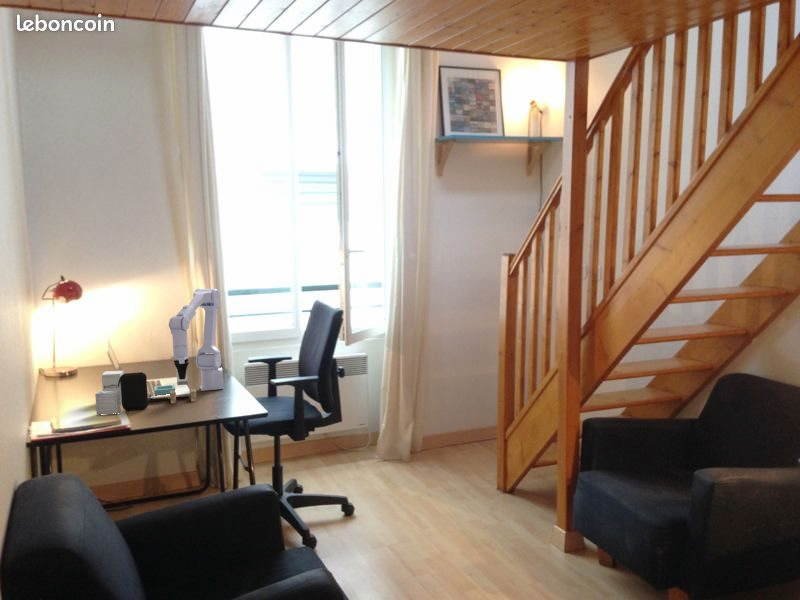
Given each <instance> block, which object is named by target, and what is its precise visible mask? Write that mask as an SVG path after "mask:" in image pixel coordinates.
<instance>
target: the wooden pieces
mask: <svg viewBox="0 0 800 600" xmlns="http://www.w3.org/2000/svg"><path fill="white" fill-rule="evenodd" d="M175 390H176V389H175ZM175 390H173V391H170V397H171V398H170V404H177V398H176V392H175ZM189 390H190V402H197V401H198V400H197V390H196V388H190V389H189Z"/></svg>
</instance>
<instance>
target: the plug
mask: <svg viewBox="0 0 800 600" xmlns="http://www.w3.org/2000/svg"><path fill="white" fill-rule="evenodd" d="M175 368H176V367H175ZM188 381H189V380H188V369H187V370H186V377H185V379H181V380H180V379H179V375H178V371H177V368H176V384H177V386H185V385H188V386H189V384H188V383H189V382H188Z"/></svg>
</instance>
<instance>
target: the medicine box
mask: <svg viewBox="0 0 800 600" xmlns="http://www.w3.org/2000/svg"><path fill="white" fill-rule="evenodd" d="M94 396H95V408H96V416H97V415H101V414H113V413H114V414H115V413H116V414H118V413H119V414H120V413H121V412H122V404H120V391H103V390H102V391H97V393H95V394H94ZM119 414H118V415H119ZM101 416H102V415H101Z"/></svg>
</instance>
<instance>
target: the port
mask: <svg viewBox="0 0 800 600" xmlns="http://www.w3.org/2000/svg"><path fill="white" fill-rule="evenodd" d="M153 389H154V390H153V391H154V394H155V396H157V395H166V394H170V391H173V390H176V385H175V384H169V385H156V386H154V387H153Z"/></svg>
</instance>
